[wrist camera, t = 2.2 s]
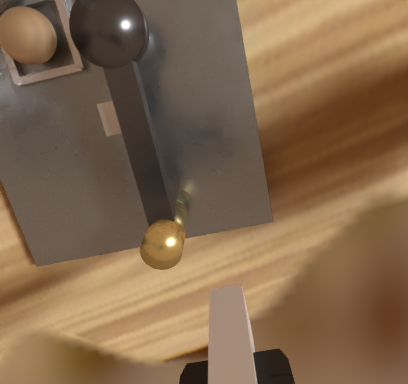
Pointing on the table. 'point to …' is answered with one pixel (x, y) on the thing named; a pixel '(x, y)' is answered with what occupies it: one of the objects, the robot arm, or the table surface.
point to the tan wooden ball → (27, 35)
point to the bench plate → (114, 145)
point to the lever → (131, 116)
